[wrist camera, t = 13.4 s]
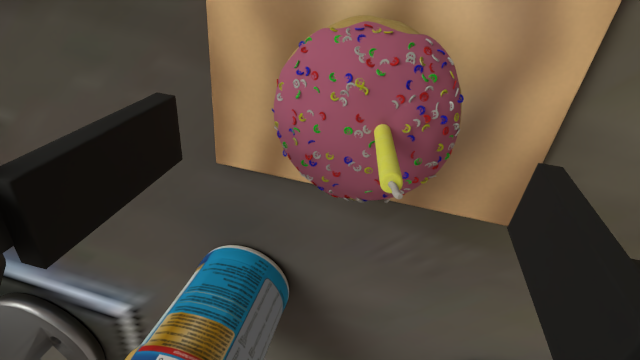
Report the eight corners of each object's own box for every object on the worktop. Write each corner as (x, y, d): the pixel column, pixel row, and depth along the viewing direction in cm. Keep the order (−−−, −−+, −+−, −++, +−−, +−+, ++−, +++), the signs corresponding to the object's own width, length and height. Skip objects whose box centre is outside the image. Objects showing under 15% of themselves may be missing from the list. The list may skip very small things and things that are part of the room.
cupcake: (432, -23, 17) (448, -9, 7) (470, 137, 20) (518, 304, 10) (277, 43, 20) (135, 118, 10) (331, 172, 24) (264, 323, 14)
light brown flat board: (220, 159, 26) (216, 163, 26) (206, -77, 19) (200, -79, 18) (509, 221, 23) (511, 227, 22) (630, -32, 16) (637, -32, 15)
